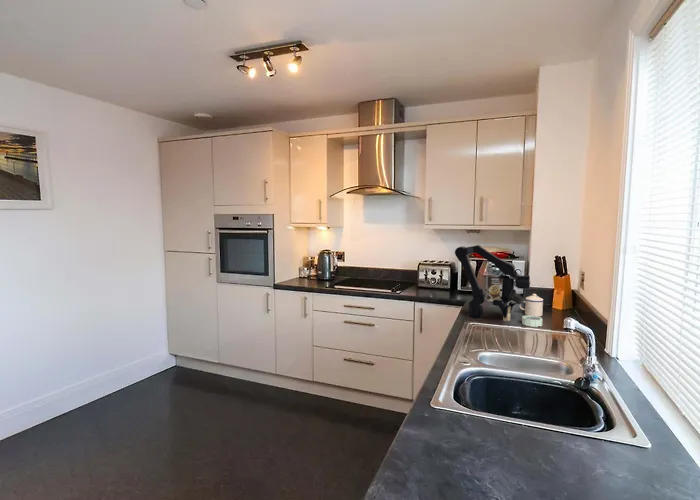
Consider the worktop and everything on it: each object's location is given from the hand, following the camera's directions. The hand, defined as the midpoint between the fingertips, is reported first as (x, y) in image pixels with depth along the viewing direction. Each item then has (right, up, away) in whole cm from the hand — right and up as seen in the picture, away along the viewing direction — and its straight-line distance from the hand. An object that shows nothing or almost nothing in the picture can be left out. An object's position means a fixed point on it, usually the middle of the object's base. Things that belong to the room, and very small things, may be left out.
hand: (506, 316), depth 195 cm
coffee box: (+10, +2, +45) cm, 46 cm away
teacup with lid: (+18, -1, +11) cm, 21 cm away
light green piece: (+10, -2, -7) cm, 12 cm away
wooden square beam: (0, -2, 0) cm, 2 cm away
